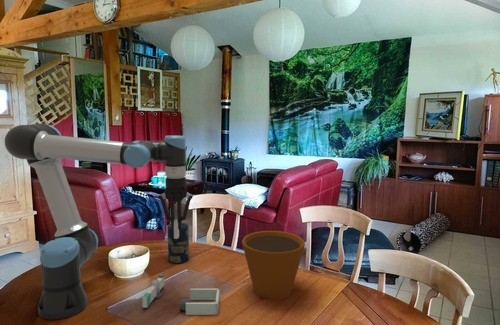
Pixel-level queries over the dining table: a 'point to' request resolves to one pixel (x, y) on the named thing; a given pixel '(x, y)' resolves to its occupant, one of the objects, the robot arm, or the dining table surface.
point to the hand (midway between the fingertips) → (176, 237)
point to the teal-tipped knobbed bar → (153, 290)
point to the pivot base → (158, 296)
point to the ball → (184, 303)
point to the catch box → (203, 307)
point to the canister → (178, 244)
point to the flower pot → (273, 261)
